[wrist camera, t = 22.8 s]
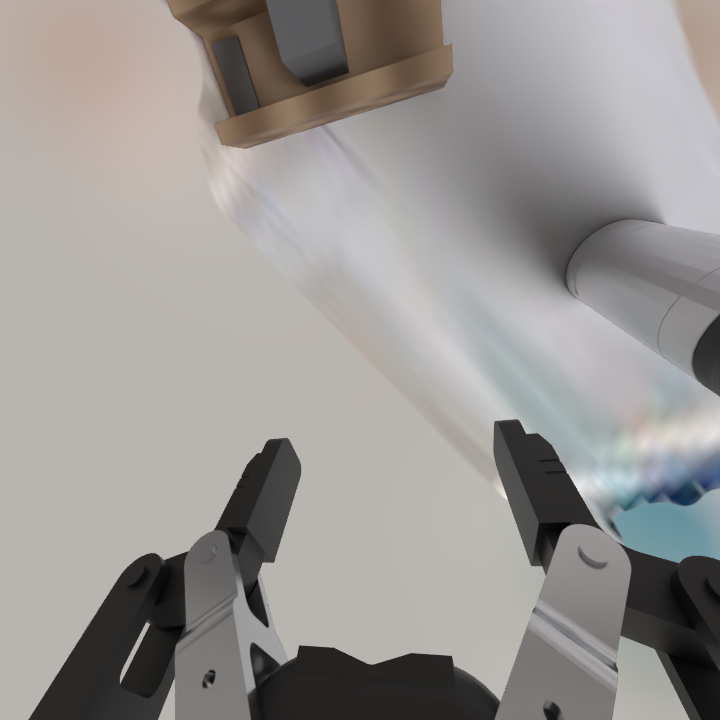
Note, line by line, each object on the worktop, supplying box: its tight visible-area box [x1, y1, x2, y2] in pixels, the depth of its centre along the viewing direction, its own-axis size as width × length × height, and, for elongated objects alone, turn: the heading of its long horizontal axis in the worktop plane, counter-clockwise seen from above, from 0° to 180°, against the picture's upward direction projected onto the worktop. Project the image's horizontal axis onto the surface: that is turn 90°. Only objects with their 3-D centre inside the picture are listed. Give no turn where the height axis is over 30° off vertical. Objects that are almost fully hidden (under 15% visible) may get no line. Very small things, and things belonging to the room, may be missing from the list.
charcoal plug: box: [266, 0, 349, 87], centre depth 22 cm, size 4×4×7 cm
